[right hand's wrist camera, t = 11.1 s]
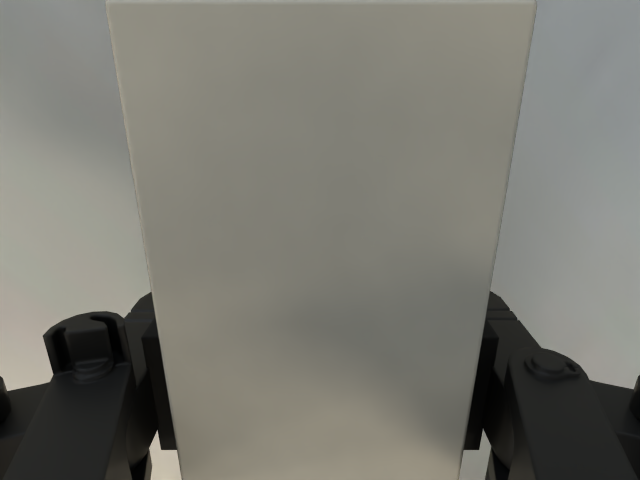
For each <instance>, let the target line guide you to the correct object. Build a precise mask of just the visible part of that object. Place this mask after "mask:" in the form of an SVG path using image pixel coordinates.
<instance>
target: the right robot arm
mask: <svg viewBox="0 0 640 480" xmlns="http://www.w3.org/2000/svg"><path fill="white" fill-rule="evenodd" d="M43 338H44V342H45V346H46V349H47V353H48V356H49V360H50V364H51V367H52V371H53V374H54V375H53V377H52V379H51V381H50V382H49V383H45V384H41V385H36V386H31V387H26V388H21V389H16V390H11V391H7V390H6V386H5V383H4V380H3V378H2V377H1V376H0V480H150V478H151V470H152V463H151V456H150V451H149V447H150V445H151V443H152V440H153V438H154V436H155V434H156V432H157V429H158V435H159V440H160V446H161V450H177V446H176V440H175V434H174V428H173V421H172V415H171V409H170V403H169V397H168V391H167V384H166V378H165V372H164V366H163V360H162V353H161V347H160V341H159V335H158V329H157V322H156V316H155V310H154V304H153V298H152V292H150V293H149V294H147V295H145V296H144V297H142V298H141V299H139V301H138V302H137V303H136V304H135V306H134V307H133V308H132V309H131V312H129V313H128V314H127V316H126V317H125V318H123V317H121V316H120V315H119V314H117V313H112V312H107V311H102V312H89V313H84V314H80V315H76V316H73V317H71V318H68V319H65V320H63V321H61V322H59V323H58V324H56V325H54V326H53V327H51V328H50V329H49V330H48V331H47V332H46V333H45V334H44V335H43ZM483 429H484V431H485V433H486V435H487V438H488V440H489V442H490V444H491V451H490V456H489V462H488V467H487V472H486V477H485V480H640V375H639V376H638V379H637V382H636V385H635V388H634V389H629V388H624V387H619V386H614V385H609V384H604V383H599V382H595V381H591V380H589V378H588V376H587V374H586V373H585V372H584V370H583V369H582V368H581V367H580V365H578V364H577V363H576V362H574V361H573V360H571V359H570V358H568V357H567V356H564V355H562V354H560V353H557V352H555V351H552V350H548V349H543V348H541V347H540V346H539V344H538V343H537V342H536V341H535V339H534V338H533V337H532V336H531V335H530V333H529V332H528V331H527V330H526V328H525V327H524V326H523V325H522V323H521V322H520V321H519V320H517V317H516V316H515V315H514V313H513V312H512V311H510V308H509V307H508V306H507V305H506V304H505V302H504V301H503V300H502V299H501V297H499V296H497V295H496V294H494V293H493V292H491V291H490V293H489V299H488V305H487V311H486V317H485V323H484V329H483V335H482V341H481V347H480V353H479V359H478V365H477V371H476V377H475V383H474V389H473V395H472V401H471V407H470V413H469V419H468V425H467V431H466V438H465V444H464V450H479V447H480V442H481V436H482V431H483Z"/></svg>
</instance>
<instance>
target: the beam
mask: <svg viewBox="0 0 640 480" xmlns="http://www.w3.org/2000/svg"><path fill="white" fill-rule="evenodd" d="M105 6H106V13H107V19H108V25H109V31H110V37H111V44H112V50H113V56H114V62H115V68H116V74H117V81H118V87H119V93H120V99H121V105H122V112H123V118H124V124H125V130H126V136H127V143H128V149H129V155H130V161H131V167H132V174H133V180H134V186H135V192H136V198H137V205H138V211H139V217H140V223H141V229H142V236H143V242H144V248H145V254H146V260H147V267H148V273H149V279H150V285H151V291H152V298H153V304H154V310H155V316H156V322H157V329H158V335H159V341H160V347H161V353H162V360H163V366H164V372H165V378H166V384H167V391H168V397H169V403H170V409H171V415H172V421H173V428H174V434H175V440H176V446H177V452H178V459H179V465H180V471H181V477H182V480H459V474H460V468H461V462H462V456H463V450H464V444H465V438H466V431H467V425H468V419H469V413H470V407H471V401H472V395H473V389H474V383H475V377H476V371H477V365H478V359H479V353H480V347H481V341H482V335H483V329H484V323H485V317H486V311H487V305H488V299H489V293H490V287H491V281H492V275H493V269H494V263H495V257H496V251H497V245H498V239H499V233H500V227H501V221H502V215H503V209H504V202H505V196H506V190H507V184H508V178H509V172H510V166H511V160H512V154H513V148H514V142H515V136H516V130H517V124H518V118H519V112H520V106H521V100H522V94H523V88H524V82H525V76H526V70H527V64H528V58H529V52H530V46H531V40H532V34H533V28H534V22H535V16H536V10H537V2H536V1H535V0H106V4H105Z"/></svg>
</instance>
